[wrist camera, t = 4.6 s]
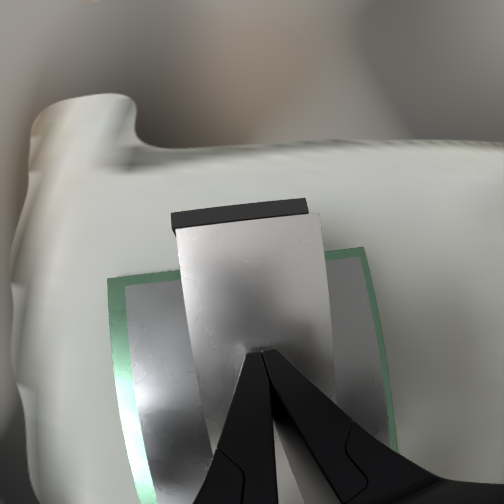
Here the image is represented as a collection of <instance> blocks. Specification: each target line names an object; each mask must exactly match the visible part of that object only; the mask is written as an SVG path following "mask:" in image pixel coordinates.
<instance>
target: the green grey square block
mask: <svg viewBox="0 0 504 504" xmlns="http://www.w3.org/2000/svg"><path fill="white" fill-rule="evenodd" d="M308 213H309V211H308V207H307V202H306V198H299V199H288V200H278V201H268V202H258V203H248V204H239V205H230V206H222V207H213V208H205V209H197V210H189V211H181V212H174V213H171V224H172V230H173V232H174V234H175V236H176V229H181V228H189V227H197V226H205V225H213V224H221V223H230V222H238V221H247V220H256V219H265V218H274V217H284V216H294V215H303V214H308ZM324 256H325V265H326V273H327V283H328V292H329V302H330V313H331V325H332V337H333V351H334V366H335V384H336V404H337V405H338V406H339V407H340V408H341V409H342V410H343V411H345V412H346V413H347V414H348V415H349V416H350V417H351V418H352V419H353V421H356V422H357V423H358V424H359V425H361V426H362V427H363V428H364V429H365V430H366V431H368V432H369V433H370V434H371V435H373V436H374V437H375V438H376V439H378V440H379V441H381V442H382V443H383V444H385V445H386V446H388V447H389V448H391V449H392V450H394V451H395V452H397V448H396V435H395V424H394V414H393V404H392V396H391V388H390V380H389V373H388V366H387V360H386V353H385V347H384V341H383V336H382V330H381V324H380V319H379V314H378V309H377V304H376V299H375V294H374V290H373V285H372V280H371V276H370V272H369V267H368V263H367V259H366V255H365V251H364V247H358V248H351V249H343V250H336V251H328V252H324ZM107 285H108V309H109V325H110V338H111V349H112V359H113V368H114V376H115V384H116V391H117V398H118V405H119V411H120V417H121V422H122V428H123V433H124V438H125V443H126V448H127V452H128V457H129V461H130V466H131V470H132V474H133V478H134V482H135V486H136V489H137V493H138V497H139V500H140V504H192V503H193V501H194V500H195V498H196V496H197V494H198V492H199V490H200V488H201V485H202V483H203V481H204V479H205V477H206V474H207V472H208V469H209V466H210V464H211V461H212V458H213V452H212V448H211V444H210V439H209V435H208V430H207V426H206V421H205V416H204V412H203V407H202V402H201V397H200V392H199V386H198V381H197V376H196V370H195V365H194V359H193V353H192V347H191V341H190V335H189V329H188V323H187V316H186V309H185V302H184V295H183V288H182V281H181V273H180V270H176V271H167V272H159V273H150V274H142V275H133V276H125V277H116V278H107Z"/></svg>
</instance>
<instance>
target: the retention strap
mask: <svg viewBox="0 0 504 504" xmlns="http://www.w3.org/2000/svg"><path fill="white" fill-rule="evenodd" d="M176 239H177V248H178V256H179V265H180V273H181V281H182V288H183V295H184V302H185V309H186V316H187V323H188V329H189V335H190V341H191V347H192V353H193V359H194V365H195V370H196V376H197V381H198V386H199V392H200V397H201V402H202V407H203V412H204V416H205V421H206V426H207V430H208V435H209V439H210V444H211V448H212V452H213V455H214V452H215V449H217V448H216V446H217V443H218V440H219V437H220V434H221V431H222V427H223V424H224V421H225V418H226V415H227V412H228V408H229V405H230V402H231V399H232V396H233V392H234V389H235V386H236V383H237V380H238V376H239V373H240V370H241V367H242V363H243V360H244V357H245V354H246V353H247V352H253V351H260V352H261V351H262V350H264V349H270V348H276V349H277V350H279V351H280V352H281V353H282V354H283V355H284V356H285V357H286V358H287V359H288V360H289V361H290V362H291V363H292V364H293V365H294V366H295V367H296V368H297V369H299V370H300V371H301V372H302V373H303V374H304V375H305V376H306V377H307V378H308V379H309V380H310V381H311V382H313V383H314V384H315V385H316V386H317V387H318V388H319V389H320V390H321V391H322V392H323V393H325V394H326V395H327V396H328V397H329V398H330V399H331V400H332V401H333V402H334V403H336V384H335V366H334V351H333V337H332V325H331V313H330V302H329V292H328V283H327V273H326V265H325V256H324V248H323V240H322V232H321V225H320V218H319V213H314V214H303V215H294V216H284V217H274V218H265V219H256V220H247V221H238V222H230V223H221V224H213V225H205V226H197V227H189V228H181V229H176ZM273 427H274V441H275V456H276V470H277V485H278V500H279V504H305V503H304V500H303V498H302V495H301V493H300V490H299V488H298V485H297V483H296V480H295V478H294V475H293V472H292V470H291V467H290V465H289V462H288V459H287V457H286V454H285V452H284V449H283V446H282V444H281V441H280V438H279V436H278V433H277V430H276V427H275V424H274V421H273Z"/></svg>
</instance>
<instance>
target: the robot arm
mask: <svg viewBox="0 0 504 504" xmlns="http://www.w3.org/2000/svg"><path fill="white" fill-rule="evenodd" d="M273 421H274V424H275V427H276V430H277V433H278V436H279V438H280V441H281V444H282V446H283V449H284V452H285V454H286V457H287V459H288V462H289V465H290V467H291V470H292V472H293V475H294V478H295V480H296V483H297V485H298V488H299V490H300V493H301V495H302V498H303V500H304V503H305V504H504V484H491V483H475V482H463V481H454V480H449V479H445V478H442V477H439V476H436V475H434V474H432V473H430V472H428V471H427V470H425V469H423V468H421V467H420V466H418V465H416V464H415V463H413V462H412V461H410V460H408V459H407V458H405V457H403V456H402V455H400V454H399V453H397V452H395V451H394V450H392V449H391V448H389V447H388V446H386V445H385V444H383V443H382V442H381V441H379V440H378V439H376V438H375V437H374V436H373V435H371V434H370V433H369V432H368V431H366V430H365V429H364V428H363V427H362V426H361V425H359V424H358V423H357V422H356V421H353V419H352V418H351V417H350V416H349V415H348V414H347V413H346V412H345V411H343V410H342V409H341V408H340V407H339V406H338V405H337V404H336V403H334V402H333V401H332V400H331V399H330V398H329V397H328V396H327V395H326V394H325V393H323V392H322V391H321V390H320V389H319V388H318V387H317V386H316V385H315V384H314V383H313V382H311V381H310V380H309V379H308V378H307V377H306V376H305V375H304V374H303V373H302V372H301V371H300V370H299V369H297V368H296V367H295V366H294V365H293V364H292V363H291V362H290V361H289V360H288V359H287V358H286V357H285V356H284V355H283V354H282V353H281V352H280V351H279V350H277V349H276V348H270V349H264V350H262V351H261V352H260V351H253V352H247V353H246V354H245V357H244V360H243V363H242V367H241V370H240V373H239V376H238V380H237V383H236V386H235V389H234V392H233V396H232V399H231V402H230V405H229V408H228V412H227V415H226V418H225V421H224V424H223V427H222V431H221V434H220V437H219V440H218V443H217V446H216V448H217V449H215V452H214V455H213V458H212V461H211V464H210V466H209V469H208V472H207V474H206V477H205V479H204V481H203V483H202V485H201V488H200V490H199V492H198V494H197V496H196V498H195V500H194V501H193V503H192V504H279V500H278V485H277V470H276V456H275V441H274V427H273Z"/></svg>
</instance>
